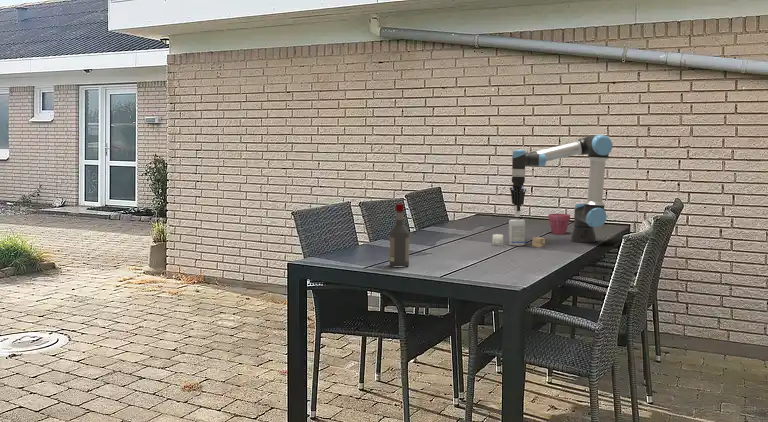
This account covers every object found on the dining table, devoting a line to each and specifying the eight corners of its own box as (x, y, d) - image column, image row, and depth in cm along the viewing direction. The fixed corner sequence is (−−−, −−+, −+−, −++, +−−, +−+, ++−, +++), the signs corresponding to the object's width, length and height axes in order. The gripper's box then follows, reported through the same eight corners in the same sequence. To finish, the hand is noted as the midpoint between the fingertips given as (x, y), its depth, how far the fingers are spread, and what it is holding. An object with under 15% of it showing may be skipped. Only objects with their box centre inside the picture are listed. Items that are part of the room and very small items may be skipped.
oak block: (537, 245, 418) (537, 237, 418) (544, 246, 415) (544, 238, 414) (532, 246, 415) (532, 238, 415) (539, 247, 411) (539, 238, 411)
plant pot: (552, 231, 484) (553, 212, 483) (572, 233, 476) (573, 214, 475) (544, 233, 473) (545, 214, 471) (564, 235, 464) (565, 215, 463)
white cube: (498, 243, 424) (499, 233, 424) (504, 245, 419) (505, 235, 418) (490, 244, 422) (490, 234, 421) (496, 245, 416) (496, 235, 416)
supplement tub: (528, 245, 419) (529, 220, 417) (516, 246, 414) (517, 221, 412) (516, 243, 427) (517, 218, 425) (505, 244, 422) (505, 219, 420)
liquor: (407, 264, 352) (408, 203, 349) (409, 267, 342) (409, 205, 340) (389, 264, 351) (389, 203, 348) (390, 267, 342) (390, 205, 339)
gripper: (506, 175, 421) (505, 215, 423) (519, 176, 409) (518, 217, 411) (516, 175, 424) (515, 215, 426) (530, 176, 412) (529, 217, 414)
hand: (517, 216), depth 419 cm, fingers closed
